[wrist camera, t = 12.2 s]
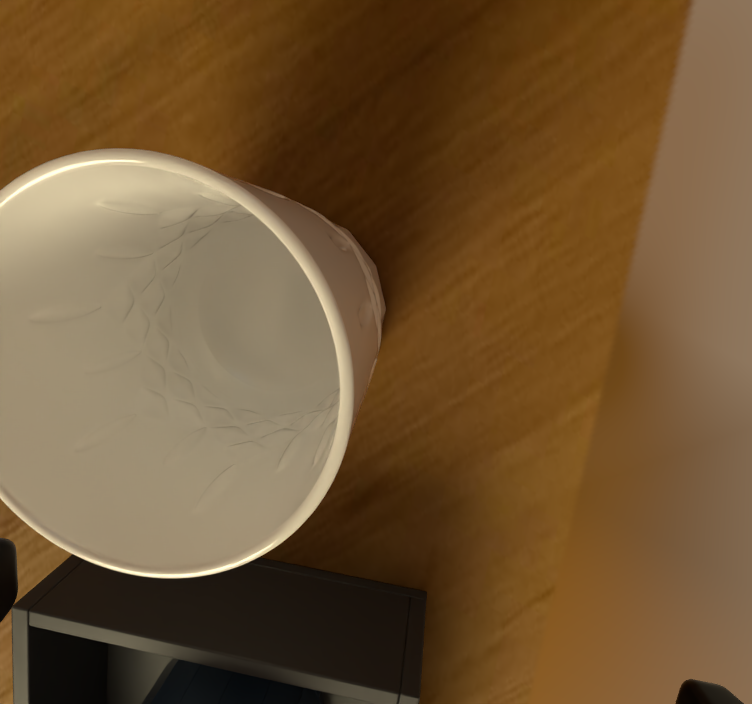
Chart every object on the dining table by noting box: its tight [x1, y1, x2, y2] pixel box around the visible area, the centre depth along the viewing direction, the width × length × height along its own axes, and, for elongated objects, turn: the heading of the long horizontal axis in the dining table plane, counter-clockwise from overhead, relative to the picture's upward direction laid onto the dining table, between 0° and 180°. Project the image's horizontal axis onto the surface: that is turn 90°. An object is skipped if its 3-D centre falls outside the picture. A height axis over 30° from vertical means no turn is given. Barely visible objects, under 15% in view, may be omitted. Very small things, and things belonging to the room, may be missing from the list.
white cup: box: [0, 148, 386, 578], centre depth 15 cm, size 8×8×10 cm
